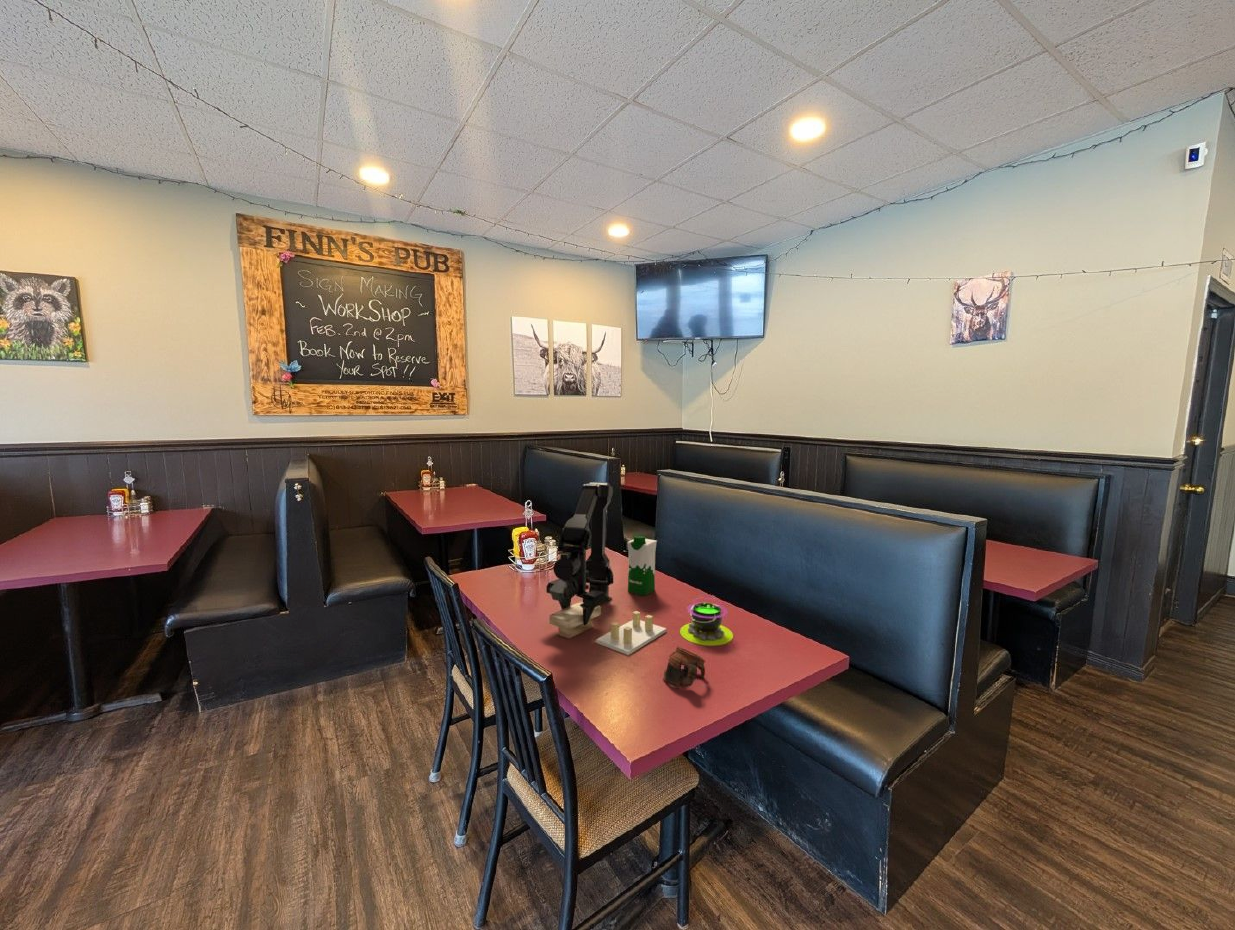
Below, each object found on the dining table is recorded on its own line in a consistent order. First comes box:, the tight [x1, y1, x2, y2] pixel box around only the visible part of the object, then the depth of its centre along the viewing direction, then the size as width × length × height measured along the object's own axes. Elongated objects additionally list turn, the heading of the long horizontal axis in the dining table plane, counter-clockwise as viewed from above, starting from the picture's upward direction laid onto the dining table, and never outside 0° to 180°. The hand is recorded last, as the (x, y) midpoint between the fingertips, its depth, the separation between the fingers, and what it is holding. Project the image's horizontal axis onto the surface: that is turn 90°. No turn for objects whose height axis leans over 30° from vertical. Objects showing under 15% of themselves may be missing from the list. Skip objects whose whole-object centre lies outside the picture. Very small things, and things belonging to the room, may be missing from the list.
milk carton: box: [627, 534, 658, 597], centre depth 176 cm, size 9×9×20 cm
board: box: [548, 600, 602, 631], centre depth 145 cm, size 14×7×2 cm, turn 142°
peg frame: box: [595, 610, 667, 656], centre depth 141 cm, size 18×11×5 cm, turn 142°
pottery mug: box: [662, 646, 706, 689], centre depth 119 cm, size 12×10×8 cm
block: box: [557, 618, 594, 640], centre depth 145 cm, size 10×4×4 cm, turn 142°
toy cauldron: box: [679, 593, 734, 647], centre depth 144 cm, size 15×15×11 cm
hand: (575, 621), depth 145 cm, fingers closed on board, 7 cm apart
